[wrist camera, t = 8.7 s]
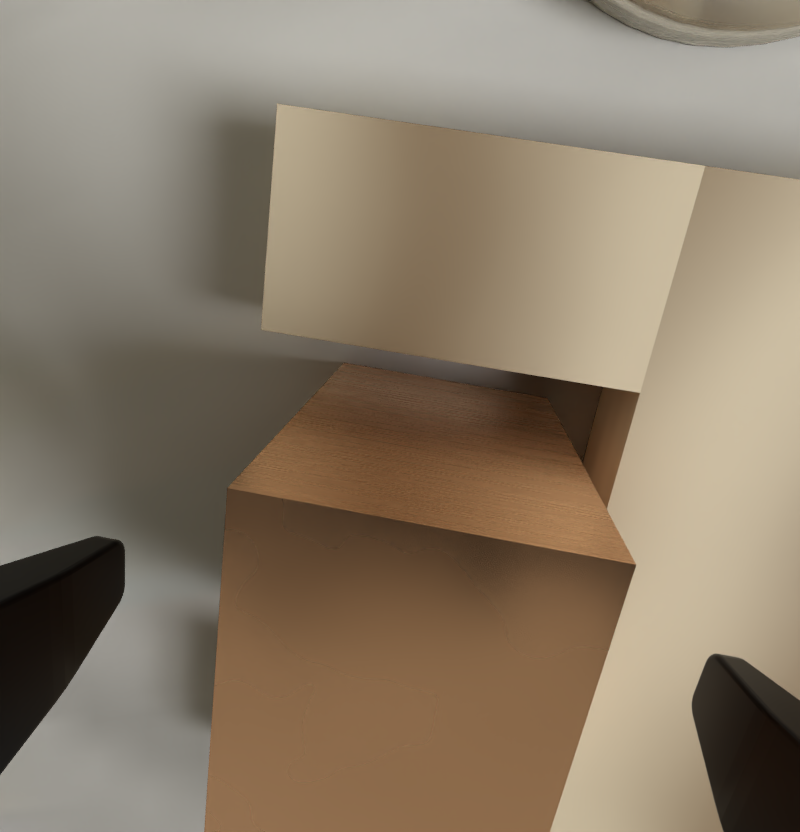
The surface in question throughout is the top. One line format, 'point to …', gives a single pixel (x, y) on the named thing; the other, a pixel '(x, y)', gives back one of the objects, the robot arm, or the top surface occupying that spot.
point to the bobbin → (709, 20)
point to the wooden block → (409, 614)
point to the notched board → (596, 365)
